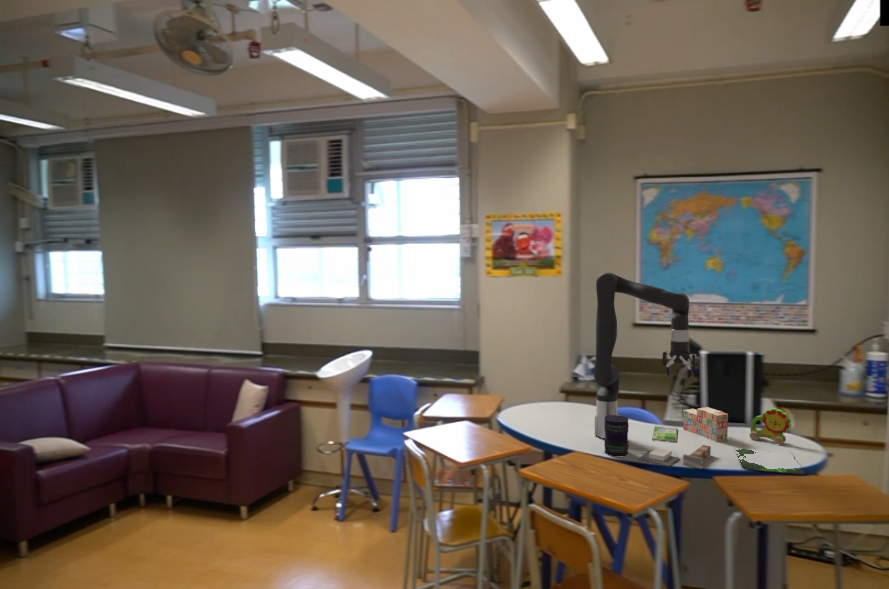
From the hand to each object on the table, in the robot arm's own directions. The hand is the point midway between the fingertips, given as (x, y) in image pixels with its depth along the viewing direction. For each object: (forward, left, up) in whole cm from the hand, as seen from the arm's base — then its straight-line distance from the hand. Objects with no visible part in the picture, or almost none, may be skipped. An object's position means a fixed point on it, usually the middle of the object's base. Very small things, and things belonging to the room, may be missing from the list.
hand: (679, 376), depth 263 cm
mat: (0, -24, -30) cm, 38 cm away
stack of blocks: (+4, +21, -30) cm, 37 cm away
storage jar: (-17, -26, -30) cm, 43 cm away
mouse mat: (+35, +1, -31) cm, 47 cm away
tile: (0, -17, -28) cm, 33 cm away
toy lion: (+30, +27, -30) cm, 51 cm away
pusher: (+14, -14, -30) cm, 36 cm away
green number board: (-10, +10, -31) cm, 34 cm away
